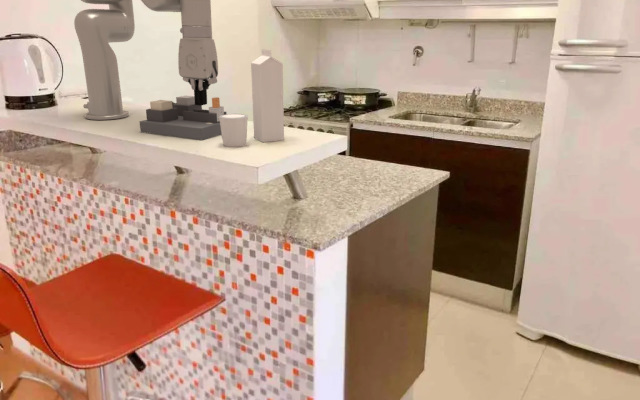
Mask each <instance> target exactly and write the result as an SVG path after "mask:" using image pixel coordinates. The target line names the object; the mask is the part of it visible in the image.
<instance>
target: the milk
mask: <svg viewBox="0 0 640 400" xmlns="http://www.w3.org/2000/svg"><path fill="white" fill-rule="evenodd" d="M250 66H251V67H250V69H251V71H250V72H251V93H252V115H253V117H252V119H253V120H252V121H253V122H252V124H253V138H254V139H255V140H258V141H260V142H261V143H268V142H277V141H284V140H285V123H284V122H285V120H284V119H285V118H284V116H285V115H284V71H283V67H284V66H283V63H282V62H281V61H279V60H277V59H276V58H274V57H272V51H271V49H265V48H262V49H261V55H260V56H259V57H257V58H256V59H254V60H253V61H251V63H250Z"/></svg>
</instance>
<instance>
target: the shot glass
mask: <svg viewBox="0 0 640 400" xmlns="http://www.w3.org/2000/svg"><path fill="white" fill-rule="evenodd" d="M248 118H249V116H248V115H247V114H245V113H227V114H225V115H221V116H219V120H220V126H221V133H222V135H221V139H222V145H223V146H224V147H228V148H229V147H231V148H237V147H243V146H246V145H247V140H248V139H247V137H248Z"/></svg>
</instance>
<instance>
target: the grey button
mask: <svg viewBox="0 0 640 400" xmlns="http://www.w3.org/2000/svg"><path fill="white" fill-rule="evenodd" d="M175 99H176V100H175V101H176V102H175V103H177V105H187V106H188V105H193V104H195V99H194V95H193V96H192V95H181V96H176V97H175Z"/></svg>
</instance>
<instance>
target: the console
mask: <svg viewBox="0 0 640 400" xmlns="http://www.w3.org/2000/svg"><path fill="white" fill-rule="evenodd" d="M172 108H173V109H168V110H163V111H160V110H151V108H147V109H145V115H146V119H144V120H140V121H139V130H140V133H143V134H144V133H145V134H149V135H150V134H151V135H157V136H158V135H160V136H166V137H167V136H168V137H176V138H179V139H181V138H182V139H189V140H197V141H204V140H208V139H211V138H215V137H219V136H222V133H221V126H220V121H219V122H217V114H211V113H209V109H203V105H201V106H199V105H195V104H193V105H188V106H187V105H177V104H172ZM225 114H228V113H227V111H224V115H225Z"/></svg>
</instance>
